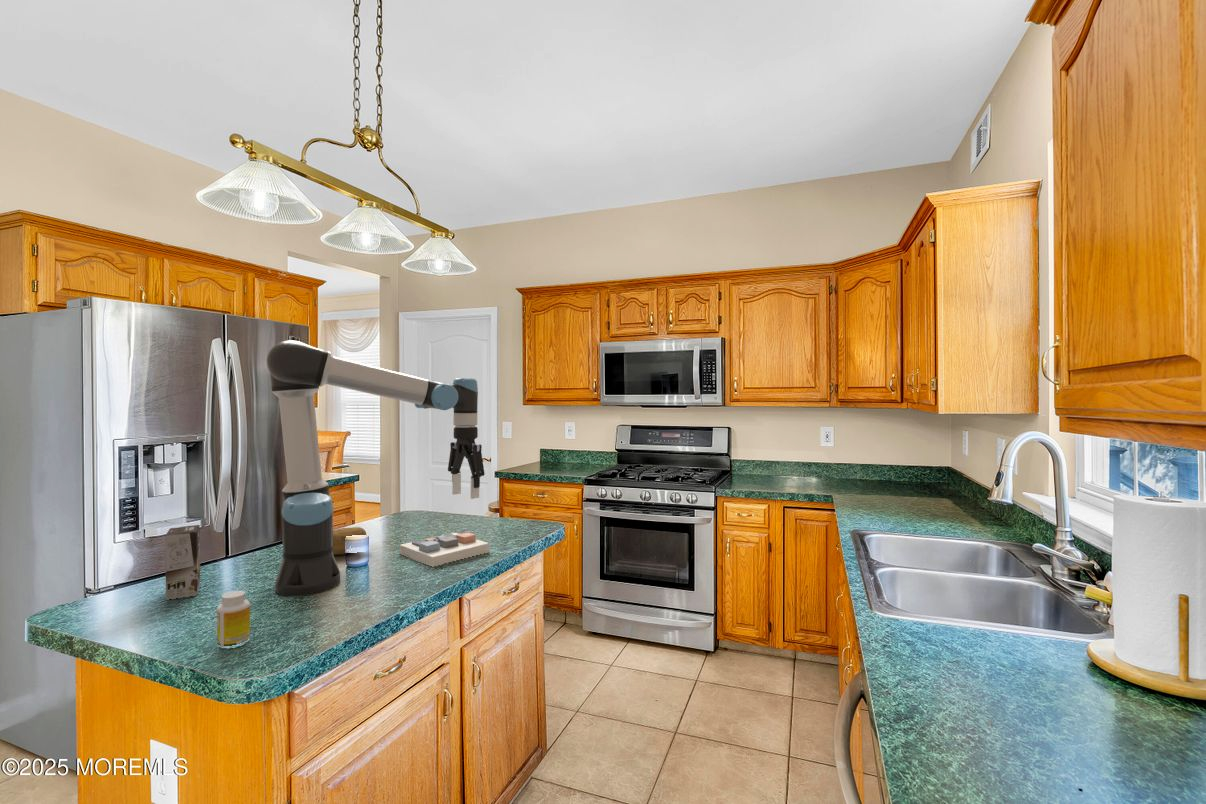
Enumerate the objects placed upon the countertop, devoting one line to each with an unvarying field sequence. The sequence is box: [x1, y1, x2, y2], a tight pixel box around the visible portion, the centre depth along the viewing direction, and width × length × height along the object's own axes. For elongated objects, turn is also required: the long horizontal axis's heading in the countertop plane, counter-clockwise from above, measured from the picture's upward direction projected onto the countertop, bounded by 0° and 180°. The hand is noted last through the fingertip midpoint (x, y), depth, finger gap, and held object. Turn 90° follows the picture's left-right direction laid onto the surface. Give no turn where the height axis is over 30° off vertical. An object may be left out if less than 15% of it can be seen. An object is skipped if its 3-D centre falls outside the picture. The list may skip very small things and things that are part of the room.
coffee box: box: [164, 524, 201, 601], centre depth 139 cm, size 9×6×16 cm
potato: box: [333, 526, 367, 556], centre depth 172 cm, size 10×14×8 cm
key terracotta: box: [456, 532, 477, 544], centre depth 177 cm, size 4×4×3 cm
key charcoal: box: [438, 536, 458, 548], centre depth 172 cm, size 4×4×3 cm
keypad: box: [399, 532, 490, 568], centre depth 173 cm, size 20×19×4 cm
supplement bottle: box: [216, 590, 251, 646], centre depth 111 cm, size 6×6×10 cm
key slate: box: [419, 540, 440, 553], centre depth 167 cm, size 4×4×3 cm
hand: (465, 495), depth 177 cm, fingers open, 9 cm apart
